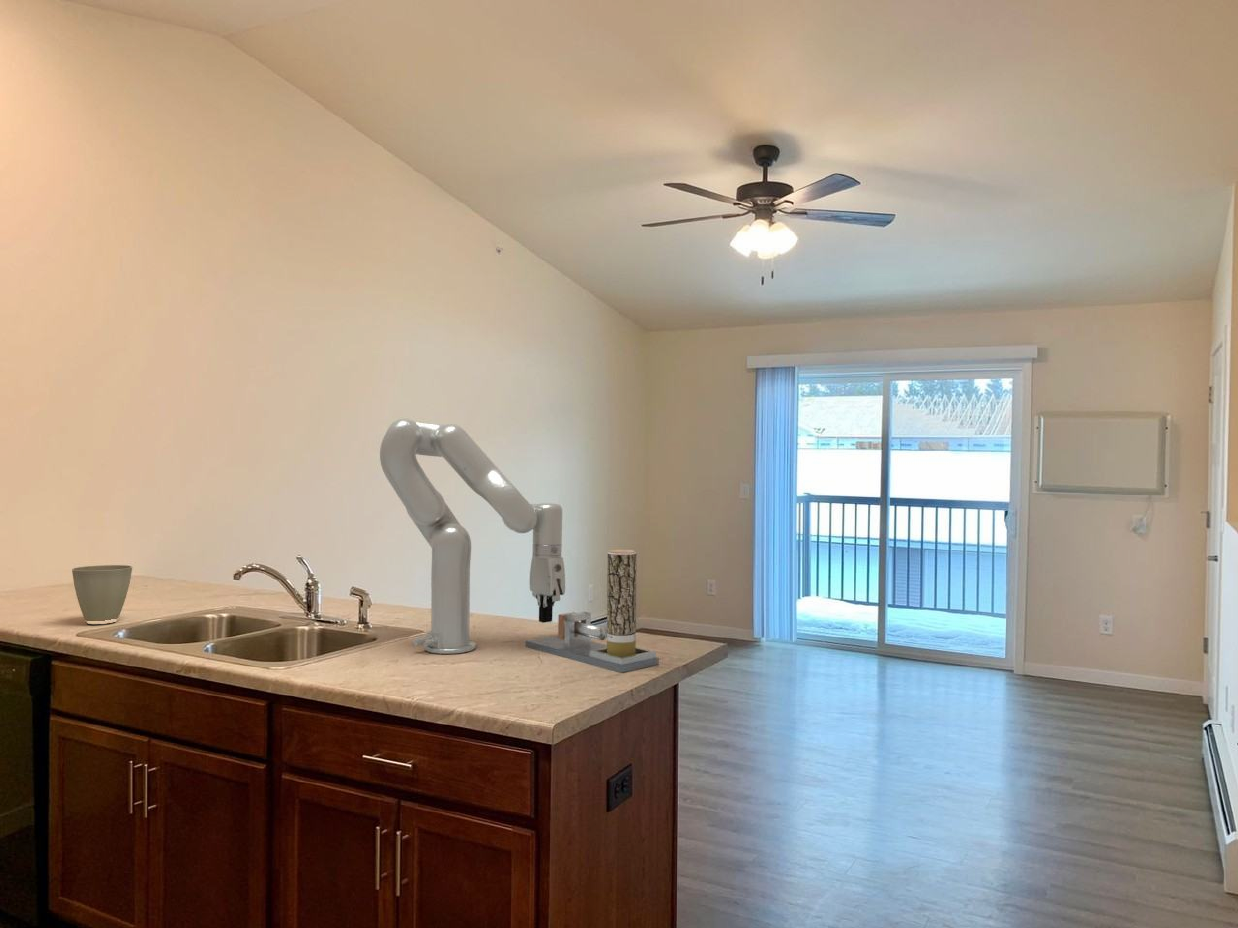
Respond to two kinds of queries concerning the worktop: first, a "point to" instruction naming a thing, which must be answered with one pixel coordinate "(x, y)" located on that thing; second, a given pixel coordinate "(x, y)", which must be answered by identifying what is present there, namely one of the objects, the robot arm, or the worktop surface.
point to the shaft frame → (590, 648)
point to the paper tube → (621, 603)
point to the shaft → (581, 629)
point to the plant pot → (101, 590)
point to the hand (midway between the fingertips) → (545, 621)
